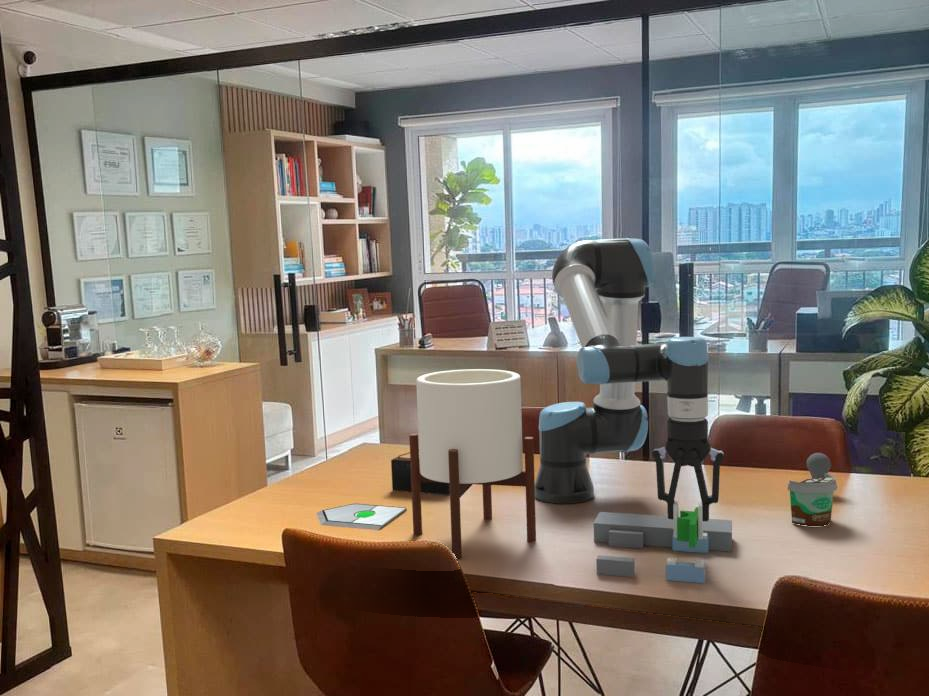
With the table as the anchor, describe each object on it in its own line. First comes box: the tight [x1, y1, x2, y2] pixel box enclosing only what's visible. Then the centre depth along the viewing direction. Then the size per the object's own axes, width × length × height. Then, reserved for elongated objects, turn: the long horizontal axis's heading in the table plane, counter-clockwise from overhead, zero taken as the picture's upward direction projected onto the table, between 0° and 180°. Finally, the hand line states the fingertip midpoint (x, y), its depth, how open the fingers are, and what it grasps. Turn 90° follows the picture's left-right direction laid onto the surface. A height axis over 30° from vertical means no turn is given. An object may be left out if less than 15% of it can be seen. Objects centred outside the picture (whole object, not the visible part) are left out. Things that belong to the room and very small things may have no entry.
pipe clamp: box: [677, 506, 698, 548], centre depth 164 cm, size 11×4×5 cm, turn 158°
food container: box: [787, 473, 838, 527], centre depth 185 cm, size 12×6×10 cm, turn 118°
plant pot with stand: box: [408, 368, 537, 561], centre depth 183 cm, size 22×22×36 cm
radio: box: [390, 451, 450, 496], centre depth 220 cm, size 19×3×15 cm, turn 68°
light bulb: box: [806, 452, 832, 479], centre depth 208 cm, size 6×6×10 cm
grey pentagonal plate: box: [316, 503, 407, 531], centre depth 203 cm, size 17×22×2 cm
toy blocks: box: [593, 511, 733, 584], centre depth 170 cm, size 28×26×4 cm
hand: (688, 535), depth 164 cm, fingers closed on pipe clamp, 4 cm apart
